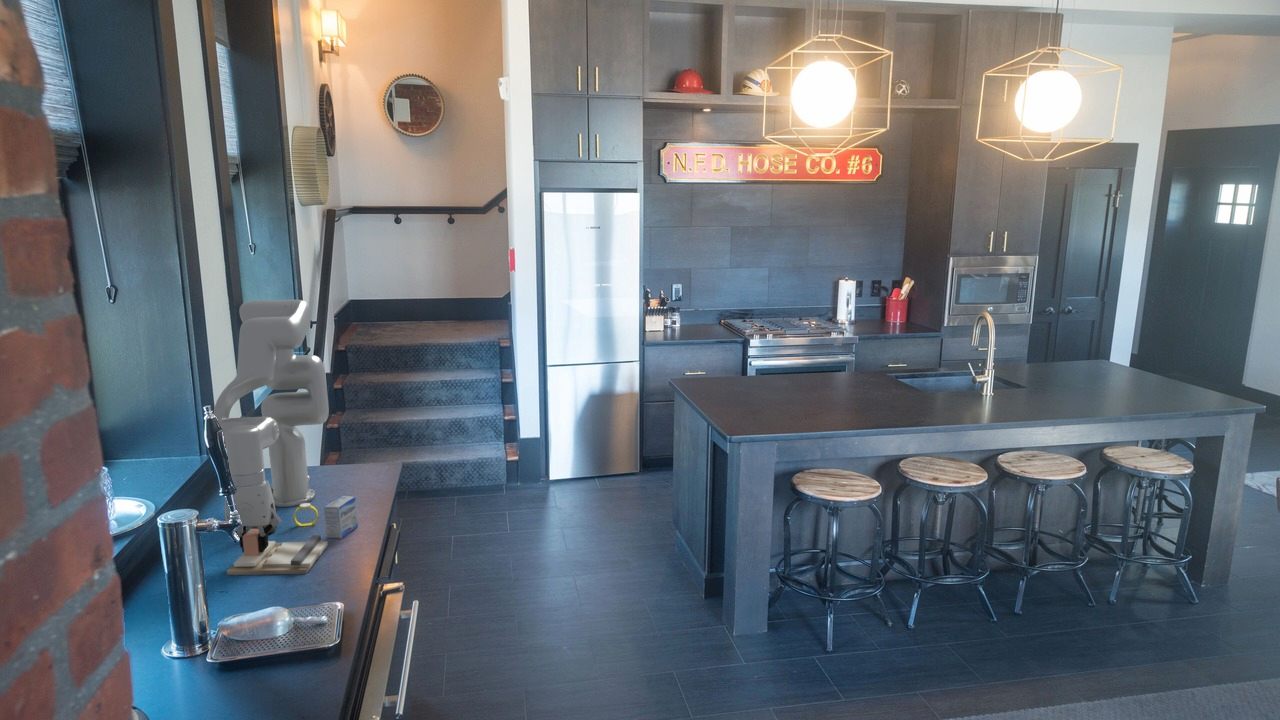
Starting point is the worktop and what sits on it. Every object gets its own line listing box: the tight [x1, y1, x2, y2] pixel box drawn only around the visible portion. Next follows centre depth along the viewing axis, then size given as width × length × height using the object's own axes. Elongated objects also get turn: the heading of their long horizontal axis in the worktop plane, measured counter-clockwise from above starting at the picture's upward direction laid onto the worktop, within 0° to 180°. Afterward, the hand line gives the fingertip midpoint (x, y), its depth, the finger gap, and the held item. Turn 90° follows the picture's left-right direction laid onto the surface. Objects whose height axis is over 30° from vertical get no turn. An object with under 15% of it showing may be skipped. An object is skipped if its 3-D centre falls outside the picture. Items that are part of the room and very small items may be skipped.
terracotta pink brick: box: [233, 528, 277, 567], centre depth 188 cm, size 12×5×6 cm, turn 3°
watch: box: [292, 502, 319, 528], centre depth 209 cm, size 6×3×6 cm, turn 108°
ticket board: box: [226, 535, 329, 576], centre depth 189 cm, size 15×18×3 cm
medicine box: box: [323, 495, 359, 539], centre depth 204 cm, size 8×4×9 cm, turn 168°
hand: (255, 549), depth 189 cm, fingers closed on terracotta pink brick, 3 cm apart
